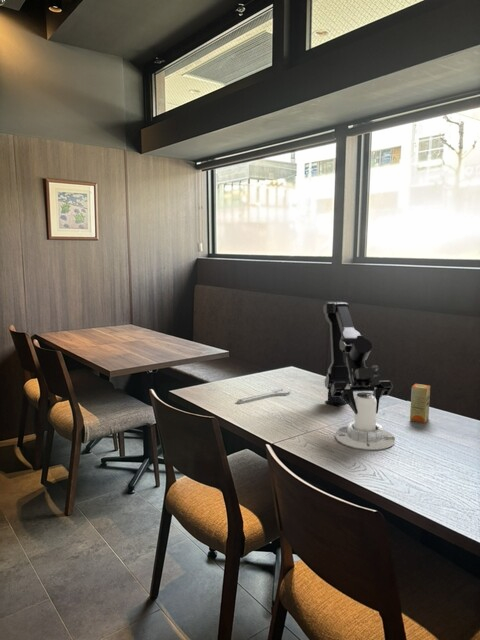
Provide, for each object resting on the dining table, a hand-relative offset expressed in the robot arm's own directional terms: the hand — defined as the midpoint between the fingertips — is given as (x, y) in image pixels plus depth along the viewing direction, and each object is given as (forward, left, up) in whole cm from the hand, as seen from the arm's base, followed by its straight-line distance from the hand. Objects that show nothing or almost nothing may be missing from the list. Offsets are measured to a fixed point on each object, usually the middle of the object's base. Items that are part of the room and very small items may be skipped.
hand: (366, 413), depth 146 cm
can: (-1, -1, -7) cm, 7 cm away
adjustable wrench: (-4, -53, -9) cm, 54 cm away
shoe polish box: (-29, +1, -9) cm, 30 cm away
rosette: (-1, -1, -9) cm, 9 cm away
